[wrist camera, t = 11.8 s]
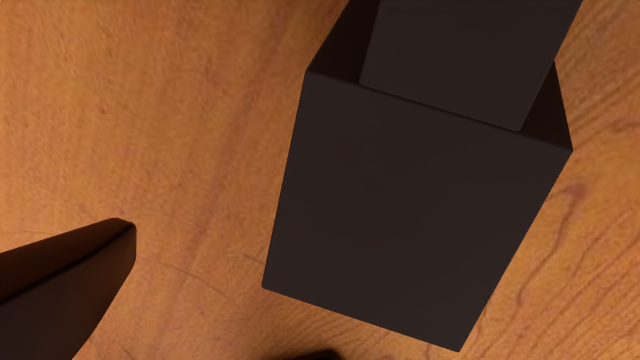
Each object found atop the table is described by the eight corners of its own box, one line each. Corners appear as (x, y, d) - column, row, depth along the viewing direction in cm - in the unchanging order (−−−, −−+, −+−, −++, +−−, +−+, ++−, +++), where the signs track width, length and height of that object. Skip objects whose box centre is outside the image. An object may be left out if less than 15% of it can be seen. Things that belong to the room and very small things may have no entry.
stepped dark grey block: (470, 155, 21) (458, 353, 14) (338, 115, 21) (260, 288, 14) (588, -114, 16) (668, -16, 9) (409, -162, 16) (341, -106, 9)
